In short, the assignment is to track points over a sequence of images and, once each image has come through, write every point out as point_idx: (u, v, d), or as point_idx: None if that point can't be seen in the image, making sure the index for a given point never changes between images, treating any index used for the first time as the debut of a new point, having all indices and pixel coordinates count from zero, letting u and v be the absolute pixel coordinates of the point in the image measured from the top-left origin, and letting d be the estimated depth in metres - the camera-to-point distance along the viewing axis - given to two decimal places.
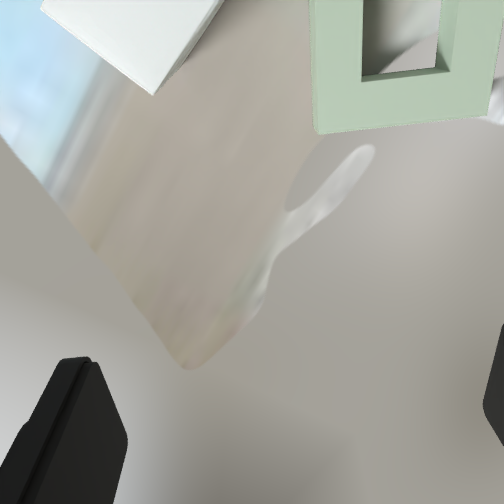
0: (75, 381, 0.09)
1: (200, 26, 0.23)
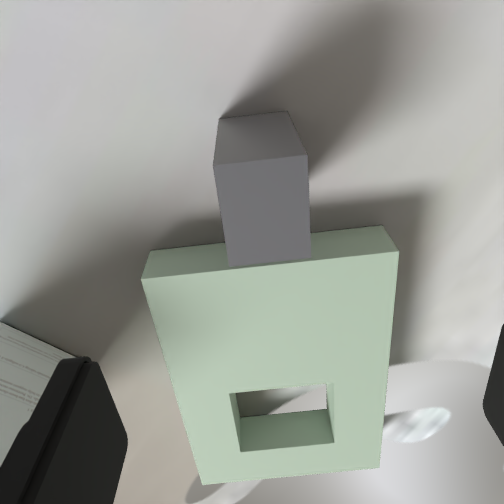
0: (75, 381, 0.09)
1: None
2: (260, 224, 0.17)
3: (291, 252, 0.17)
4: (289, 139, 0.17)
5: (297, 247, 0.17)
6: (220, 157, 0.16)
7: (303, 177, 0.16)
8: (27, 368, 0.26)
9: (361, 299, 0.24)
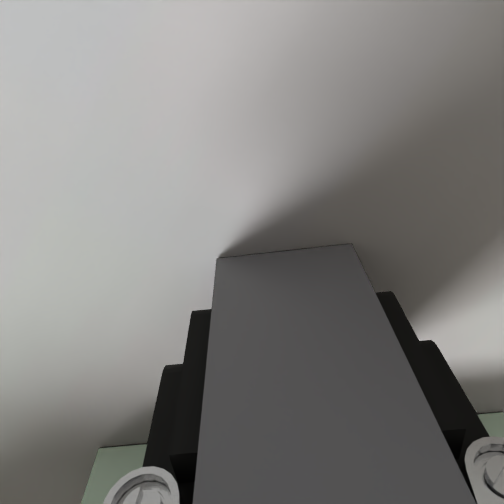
0: None
1: None
2: None
3: None
4: (396, 397, 0.06)
5: None
6: (212, 497, 0.05)
7: None
8: None
9: None
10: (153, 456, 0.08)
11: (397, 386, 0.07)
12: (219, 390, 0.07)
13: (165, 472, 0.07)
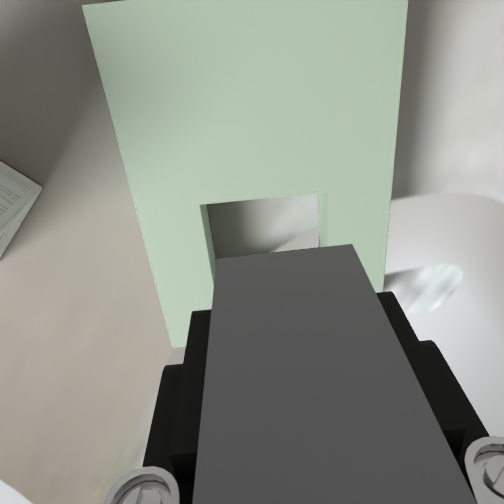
0: None
1: None
2: None
3: None
4: (397, 399, 0.06)
5: None
6: (212, 499, 0.05)
7: None
8: None
9: (361, 52, 0.19)
10: (153, 456, 0.08)
11: (398, 387, 0.07)
12: (219, 391, 0.07)
13: (165, 472, 0.07)
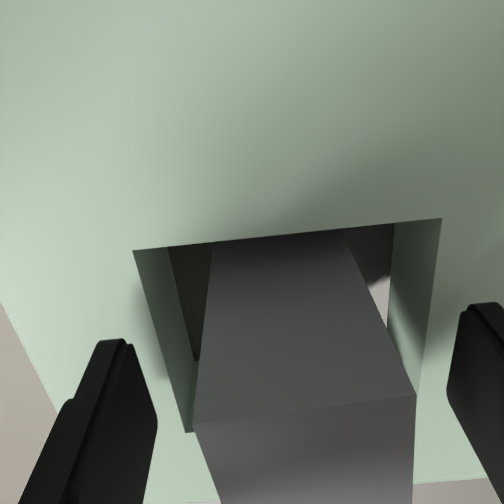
0: (114, 360, 0.09)
1: None
2: None
3: None
4: (355, 311, 0.08)
5: None
6: (211, 381, 0.07)
7: (403, 433, 0.07)
8: None
9: None
10: None
11: (356, 303, 0.08)
12: (216, 316, 0.09)
13: None
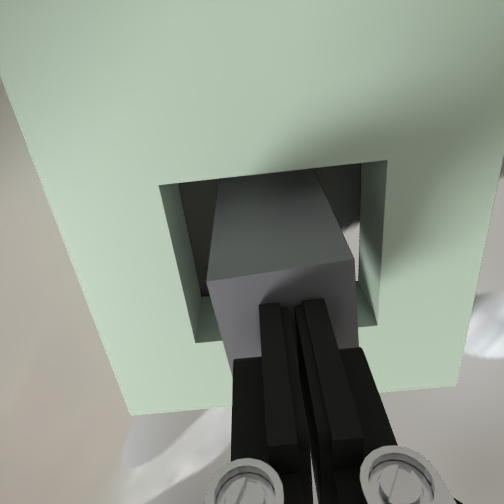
0: (281, 321, 0.10)
1: None
2: None
3: None
4: (320, 221, 0.11)
5: None
6: (218, 261, 0.11)
7: (348, 290, 0.10)
8: None
9: None
10: (240, 449, 0.08)
11: (322, 217, 0.12)
12: (221, 229, 0.12)
13: (263, 464, 0.07)
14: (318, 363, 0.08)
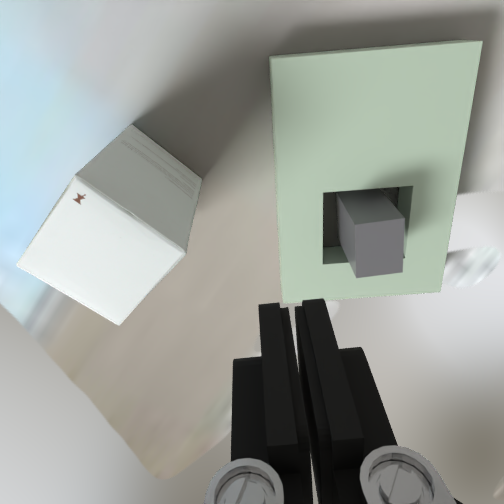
0: (281, 321, 0.10)
1: (162, 278, 0.25)
2: (376, 254, 0.31)
3: (391, 269, 0.31)
4: (389, 207, 0.31)
5: (395, 266, 0.31)
6: (355, 219, 0.30)
7: (401, 229, 0.30)
8: (158, 156, 0.31)
9: (446, 91, 0.29)
10: (240, 448, 0.08)
11: (389, 206, 0.31)
12: (350, 209, 0.32)
13: (263, 464, 0.07)
14: (318, 363, 0.08)
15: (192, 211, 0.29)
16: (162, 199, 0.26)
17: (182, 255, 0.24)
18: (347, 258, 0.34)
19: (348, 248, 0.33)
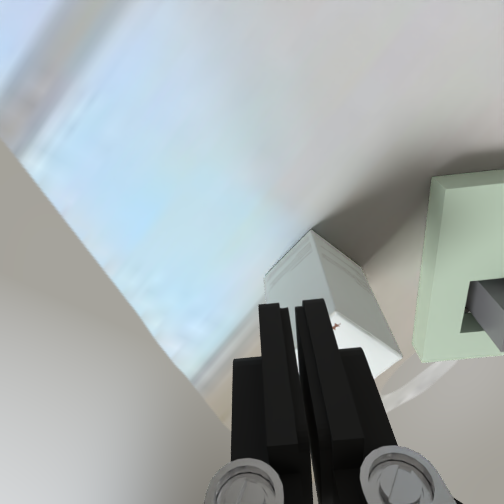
0: (281, 322, 0.10)
1: None
2: None
3: None
4: None
5: None
6: None
7: None
8: (339, 259, 0.38)
9: None
10: (240, 449, 0.08)
11: None
12: (495, 296, 0.39)
13: (263, 464, 0.07)
14: (318, 363, 0.08)
15: (380, 309, 0.36)
16: (368, 308, 0.34)
17: (399, 359, 0.32)
18: (485, 330, 0.41)
19: (489, 324, 0.40)
